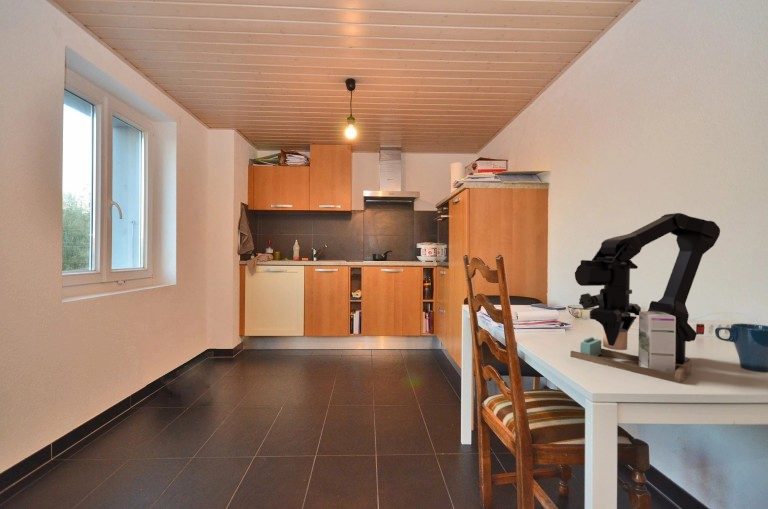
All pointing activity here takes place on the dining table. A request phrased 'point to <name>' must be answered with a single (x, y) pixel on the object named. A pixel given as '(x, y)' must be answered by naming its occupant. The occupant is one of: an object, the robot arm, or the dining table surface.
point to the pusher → (591, 346)
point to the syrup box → (657, 341)
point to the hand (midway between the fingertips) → (615, 343)
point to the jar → (620, 342)
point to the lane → (678, 377)
